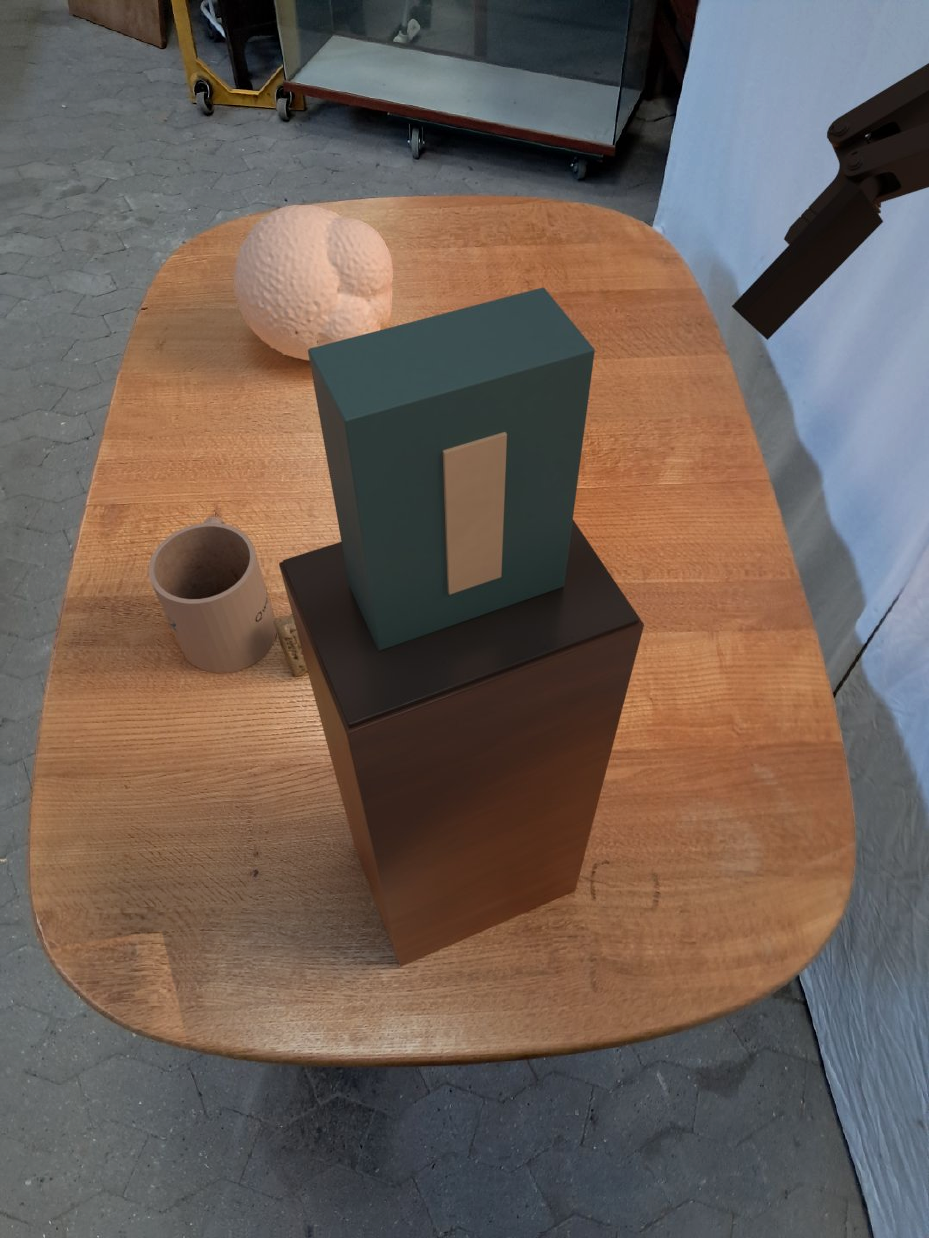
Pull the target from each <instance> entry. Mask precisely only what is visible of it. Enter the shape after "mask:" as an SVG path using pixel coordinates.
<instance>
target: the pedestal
mask: <svg viewBox="0 0 929 1238" xmlns="http://www.w3.org/2000/svg"><path fill="white" fill-rule="evenodd" d="M278 566H279V569H280V573H281V577H282V581H283V584H284V588H285V593H286V596H287V599H288V604H289V607H290V611H291V614H292V615H293V619H294V622H295V626H296V630H297V633H298V637H299V641H300V645H301V648H302V652H303V656H304V660H305V663H306V667H307V671H306V672H307V674H308V678H309V682H310V685H311V686H310V687H311V689H312V692H313V697H314V701H315V704H316V708H317V712H318V715H319V720H320V723H321V727H322V730H323V734H324V737H325V741H326V745H327V748H328V749H327V750H328V753H329V756H330V760H331V764H332V768H333V771H334V775H335V778H336V782H337V787H338V790H339V793H340V797H341V801H342V805H343V809H344V812H345V815H346V819H347V823H348V827H349V831H350V835H351V838H352V842H353V847H354V848H355V850H356V854H357V856H358V860H359V861H360V864H361V867H362V869H363V872H364V875H365V877H366V881H367V883H368V886H369V888H370V891H371V894H372V897H373V899H374V902H375V904H376V907H377V910H378V913H379V915H380V918H381V920H382V924H383V926H384V929H385V931H386V935H387V937H388V940H389V942H390V945H391V947H392V951H393V953H394V956H395V959H396V961H397V964H398V967H403V966H405V965H407V964H410V963H413V962H416V961H417V960H419V959H421V958H424V957H426V956H428V955H432V954H433V953H435V952H437V951H440V950H442V949H445V948H447V947H449V946H451V945H454V944H456V943H458V942H461V941H463V940H465V939H468V938H470V937H472V936H475V935H477V934H479V933H481V932H483V931H486V930H488V929H491V928H493V927H495V926H497V925H500V924H502V923H504V922H507V921H509V920H511V919H513V918H516V917H518V916H520V915H523V914H525V913H528V912H531V911H532V910H534V909H537V908H539V907H541V906H543V905H546V904H548V903H552V902H553V901H554V900H557V899H560V898H562V897H564V896H566V895H568V894H571V893H574V892H576V889H577V886H578V882H579V879H580V878H579V877H580V874H581V870H582V867H583V862H584V859H585V854H586V852H587V847H588V844H589V840H590V837H591V832H592V828H593V824H594V820H595V816H596V813H597V809H598V805H599V800H600V797H601V794H602V791H603V790H602V789H603V786H604V782H605V777H606V774H607V770H608V767H609V762H610V758H611V754H612V751H613V747H614V743H615V739H616V735H617V732H618V728H619V724H620V720H621V716H622V712H623V708H624V704H625V700H626V696H627V693H628V688H629V685H630V681H631V678H632V674H633V671H634V666H635V662H636V658H637V653H638V651H639V647H640V642H641V638H642V634H643V631H644V628H645V623H644V622H643V621H642V619H641V618H640V616H639V614H638V613H637V611H636V610H635V609H634V607H633V606H632V604H631V603H630V601H629V599H628V598H627V597H626V596H625V594H624V592H623V591H622V589H621V588H620V587H619V585H618V583H617V582H616V581H615V579H614V578H613V576H612V575H611V573H610V572H609V570H608V568H607V567H606V566H605V565H604V563H603V561H602V560H601V558H600V556H599V555H598V554H597V552H596V551H595V549H594V548H593V546H592V545H591V544H590V542H589V541H588V539H587V537H586V536H585V535H584V533H583V532H582V530H581V529H580V527H579V526H578V524H577V523H576V521H575V520H574V519H573V522H572V529H571V537H570V545H569V552H568V560H567V568H566V575H565V583H564V587H561V588H559V589H556V590H553V591H550V592H547V593H544V594H541V595H538V596H536V597H533V598H530V599H527V600H524V601H521V602H518V603H515V604H513V605H510V606H507V607H504V608H501V609H498V610H495V611H492V612H490V613H487V614H484V615H481V616H478V617H475V618H472V619H469V620H467V621H464V622H461V623H458V624H455V625H452V626H449V627H446V628H444V629H441V630H438V631H435V632H432V633H429V634H426V635H423V636H421V637H418V638H415V639H412V640H409V641H406V642H403V643H400V644H398V645H395V646H392V647H389V648H386V649H383V650H380V651H379V650H378V649H377V646H376V644H375V642H374V640H373V638H372V635H371V633H370V631H369V629H368V626H367V624H366V622H365V620H364V617H363V615H362V613H361V611H360V609H359V606H358V604H357V602H356V600H355V597H354V595H353V593H352V591H351V589H350V586H349V582H348V576H347V570H346V565H345V559H344V553H343V548H342V542H341V541H340V542H339V541H338V542H336V543H333V544H329V545H327V546H323V547H320V548H317V549H314V550H310V551H307V552H304V553H301V554H298V555H295V556H291V557H288V558H286V559H285V558H284V559H283V560H282V561H280V562H278Z"/></svg>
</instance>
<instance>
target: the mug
mask: <svg viewBox="0 0 929 1238" xmlns="http://www.w3.org/2000/svg"><path fill="white" fill-rule="evenodd" d="M147 566H148V578H149V581H150V583H151V586H152V588H153V590H154V593H155V595H156V597H157V599H158V601H159V603H160V605H161V607H162V610H163V613H164V614H165V616H166V618H167V621H168V623H169V626H170V627H171V629H172V632H173V634H174V636H175V638H176V640H177V642H178V645H179V647H180V649H181V652H182V653H183V655H184V656H185V658H186V659H187V661H188V662H189V663H190V664H191V665H192V666H194V667H196V668H197V669H199V670H202V671H205V672H207V673H213V674H229V673H236V672H239V671H242V670H245V669H247V668H249V667H251V666H253V665H255V664H257V662H259V661H260V660H261V659H263V658H264V657H265V656H266V655H267V654H268V652H269V651H270V650H271V648H272V647H273V646H274V642H275V640H276V637H277V631H276V628H275V626H274V621H275V620H276V619H277V618H276V617H275V616H276V615H275V613H274V609H273V606H272V602H271V599H270V596H269V592H268V589H267V586H266V582H265V578H264V576H263V573H262V569H261V566H260V561H259V559H258V555H257V552H256V549H255V546H254V543H253V542H252V540H251V539H250V537H249V536H248V535H247V534H246V533H245V532H244V531H242V530H241V529H239V528H237V527H236V526H233V525H231V524H226V523H225V521H224V520H223V519H222V517H220V516H216V515H215V516H209V517H207V518H205V520H204V521H203V522H202V523H195V524H192V525H188V526H185V527H182V528H181V529H178V530H176V531H174V532H173V533H172V534H170V535H168V536H167V537H165V538H164V539H163V540H162V541H161V542H160V543H159V544H158V545H157V547H156V548H155V549H154V551H153V553H152V555H151V557H150V559H149V563H148V565H147Z"/></svg>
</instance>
